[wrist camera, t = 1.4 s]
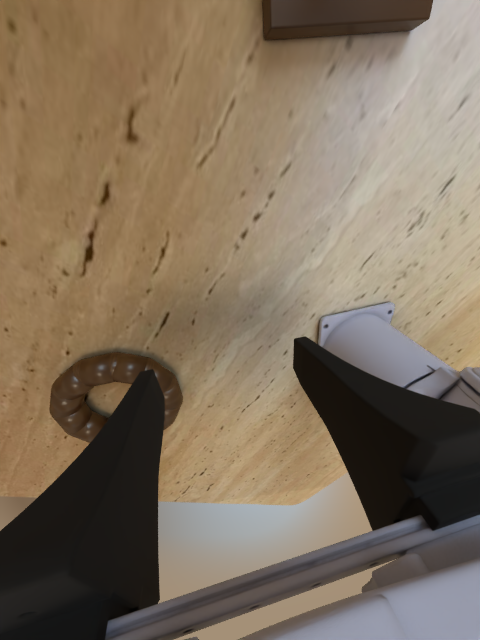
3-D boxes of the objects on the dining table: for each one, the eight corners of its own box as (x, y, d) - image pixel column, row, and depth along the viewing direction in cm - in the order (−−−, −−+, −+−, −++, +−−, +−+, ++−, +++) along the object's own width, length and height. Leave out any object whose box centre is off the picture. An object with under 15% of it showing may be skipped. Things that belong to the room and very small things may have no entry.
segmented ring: (191, 413, 26) (192, 433, 24) (90, 439, 25) (82, 462, 23) (164, 336, 20) (162, 353, 18) (31, 364, 19) (13, 385, 17)
